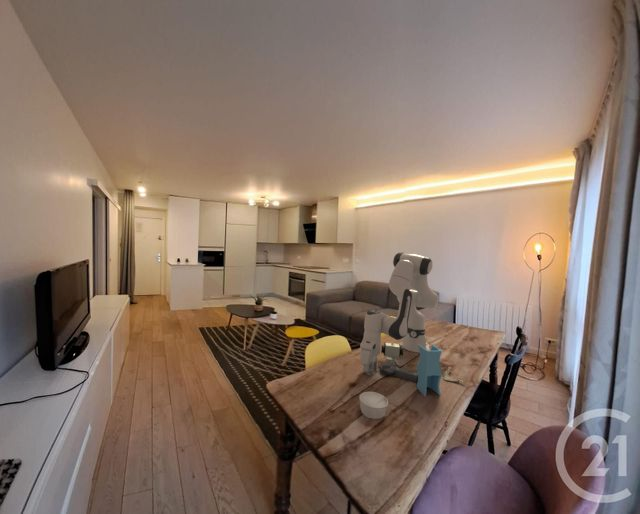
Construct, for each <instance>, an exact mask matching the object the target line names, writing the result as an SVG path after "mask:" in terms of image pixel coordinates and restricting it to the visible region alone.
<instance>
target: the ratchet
mask: <svg viewBox="0 0 640 514" xmlns="http://www.w3.org/2000/svg"><path fill="white" fill-rule="evenodd" d="M392 359H393V358H391V357H387V356H386V359H385V362H382V363H381V364H380V373H381V374H382V375H385V376H388V377H398V378H401V379H405V380H409V381H412V382H416V383H418V373H417V371H412V370H407V369H404V368H400V367H398V366H397V364H392Z"/></svg>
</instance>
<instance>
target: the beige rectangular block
mask: <svg viewBox="0 0 640 514" xmlns="http://www.w3.org/2000/svg"><path fill="white" fill-rule="evenodd" d="M369 367H370V368H369V371H368V372H367V371H365V365H363V368H362V369H363V371H362V373H364V374H367V375H369V376H374V375H375V374H376V373H377V371H378V357H377V358H375V359H374V360H373V361H372V362H371V363H370V364H369Z"/></svg>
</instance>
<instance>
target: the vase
mask: <svg viewBox="0 0 640 514" xmlns="http://www.w3.org/2000/svg"><path fill="white" fill-rule="evenodd" d="M430 346H431V347H430V349H429V350H426V349H425V348H423V347H422V346H420V345H418V347H419V352H418V353H419V359H418V363H417V364H416V373H418V382H416V389H417V390H418V391H419V392H420V393H421V394H422V396H424V397H426V396H427V388H429V389H431V390H433V391H434V392H435V393H436V394H437V395H439V396H441V391H440V383H441V382H440V381H441V379H442V377H443V372H442V369H441V364H440V359H441V355H442V352H443V350H442V349H441V348H439V347H437V346H435V345H434V344H431V345H430Z"/></svg>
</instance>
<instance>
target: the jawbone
mask: <svg viewBox="0 0 640 514" xmlns="http://www.w3.org/2000/svg"><path fill="white" fill-rule="evenodd" d="M451 370H452V367H451V366H448V367H447V370H445V371H443V372H442V380H443V381H446V382H453V383H456V384H457V385H458V384H459V383H460V382H461V383H463V384H465V383H466V382H465V380H463V379H461V378H454V377H451V375H450V374H451V372H452V371H451Z"/></svg>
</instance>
